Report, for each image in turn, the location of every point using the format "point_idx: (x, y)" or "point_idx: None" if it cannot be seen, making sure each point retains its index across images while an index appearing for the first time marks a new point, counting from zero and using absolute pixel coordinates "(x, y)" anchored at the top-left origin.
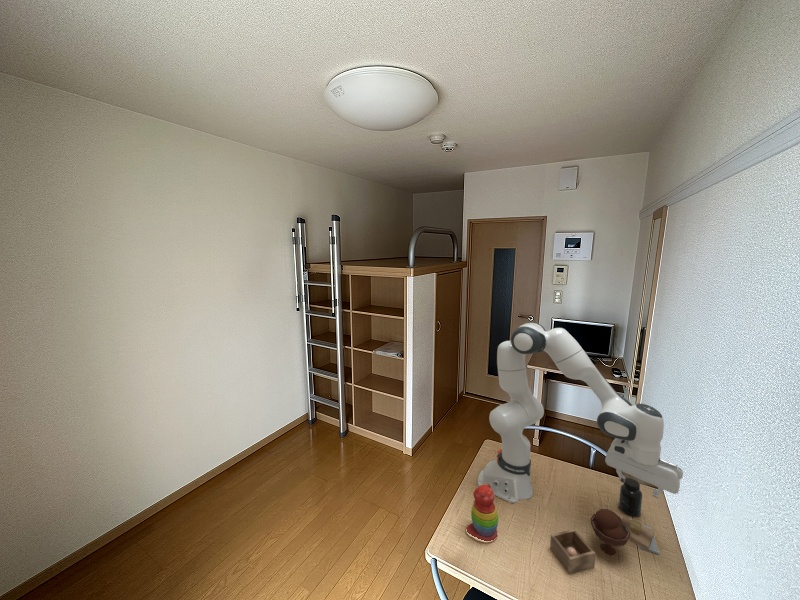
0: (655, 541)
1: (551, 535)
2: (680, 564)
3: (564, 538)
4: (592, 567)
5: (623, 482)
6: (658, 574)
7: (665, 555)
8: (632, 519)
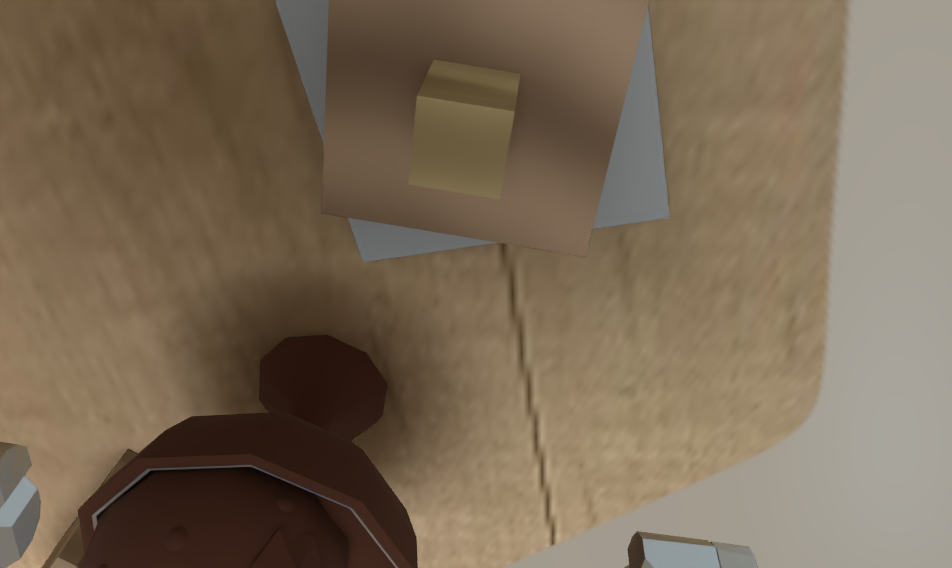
0: (654, 83)
1: None
2: (825, 213)
3: None
4: None
5: (26, 537)
6: (641, 392)
7: (720, 184)
8: (418, 121)
